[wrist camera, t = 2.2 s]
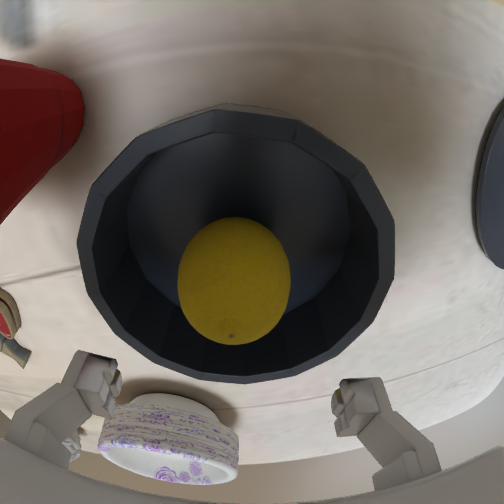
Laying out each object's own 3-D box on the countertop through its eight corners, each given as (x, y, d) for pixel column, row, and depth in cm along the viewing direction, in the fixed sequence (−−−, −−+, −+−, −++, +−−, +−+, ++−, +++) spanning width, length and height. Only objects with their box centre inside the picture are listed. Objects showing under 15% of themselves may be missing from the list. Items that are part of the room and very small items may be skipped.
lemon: (224, 287, 20) (215, 387, 13) (174, 225, 18) (133, 315, 11) (297, 251, 19) (322, 349, 12) (252, 178, 16) (255, 253, 9)
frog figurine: (67, 430, 38) (58, 460, 32) (47, 411, 35) (35, 443, 29) (93, 436, 38) (84, 469, 32) (73, 418, 35) (62, 453, 29)
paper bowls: (170, 441, 36) (163, 487, 29) (89, 388, 29) (71, 443, 22) (262, 425, 32) (264, 482, 25) (184, 362, 25) (171, 439, 18)
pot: (116, 100, 14) (65, 109, 9) (388, 134, 15) (437, 156, 10) (129, 312, 22) (107, 364, 17) (324, 332, 23) (337, 386, 19)
